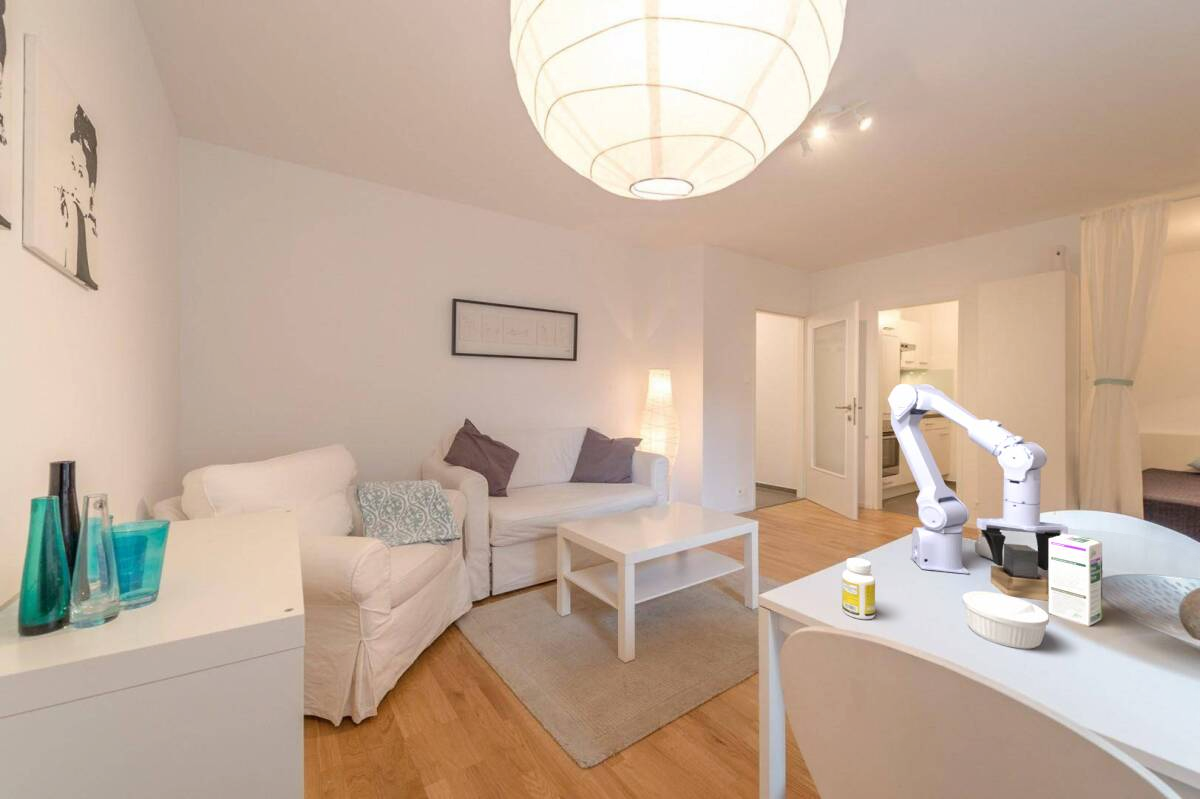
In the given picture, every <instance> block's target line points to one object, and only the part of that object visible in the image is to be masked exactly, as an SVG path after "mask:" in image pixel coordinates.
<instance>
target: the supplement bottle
mask: <svg viewBox="0 0 1200 799" xmlns="http://www.w3.org/2000/svg"><path fill="white" fill-rule="evenodd" d="M871 570H872V564H871V562H870V561H869V560H866V559H863V558H857V557H850V558H847V559H846V570H844V571H843V572H842V575H841V576H842V577H841V578H842V579H841V580H842V581H841V582H842V590H841V591H842V594H841V595H842V599H841V600H842V605H841V607H842V611H843V612H844V613H845V614H846V615H847V616H849V617H851V618H854V619H859V620H871V619H873V618H874V617H875V616H876V578H875V576H874V575H873V574H872V573H871Z"/></svg>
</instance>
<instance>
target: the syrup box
mask: <svg viewBox="0 0 1200 799" xmlns="http://www.w3.org/2000/svg"><path fill="white" fill-rule="evenodd" d="M1048 613H1049V615H1052V616H1055V617H1058V618H1061V619H1064V620H1067V621H1070V622H1072V623H1076V624H1080V625H1083V626H1086V627H1091V625H1094V624H1096V623H1098V622H1099V621H1101V620H1103V542H1102V541H1100V540H1096V539H1093V538H1089V537H1085V536H1079V535H1074V534H1067V535H1066V534H1061V535H1060V536H1056V537H1053V538H1050V539H1049V601H1048Z"/></svg>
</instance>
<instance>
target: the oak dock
mask: <svg viewBox="0 0 1200 799" xmlns="http://www.w3.org/2000/svg"><path fill="white" fill-rule="evenodd" d="M1003 569H1004V566H1003V565H1002V566H998V565H990V583H991V584H992V585H993V584H994V585H993V586H995V587H996V588H997V589H998V588H999V589H998V590H1000V591H1001V592H1002V594H1003V595H1008V596H1011V597H1015V598H1020V599H1022V598H1023V599H1031V600H1041V601H1048V602H1049V580H1047V579H1045V578H1044V577H1042V576H1041V575H1039V574H1038V580H1036V579H1026V578H1016V577H1010V576H1009V575H1007V574H1006V573H1005V572H1003Z"/></svg>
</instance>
